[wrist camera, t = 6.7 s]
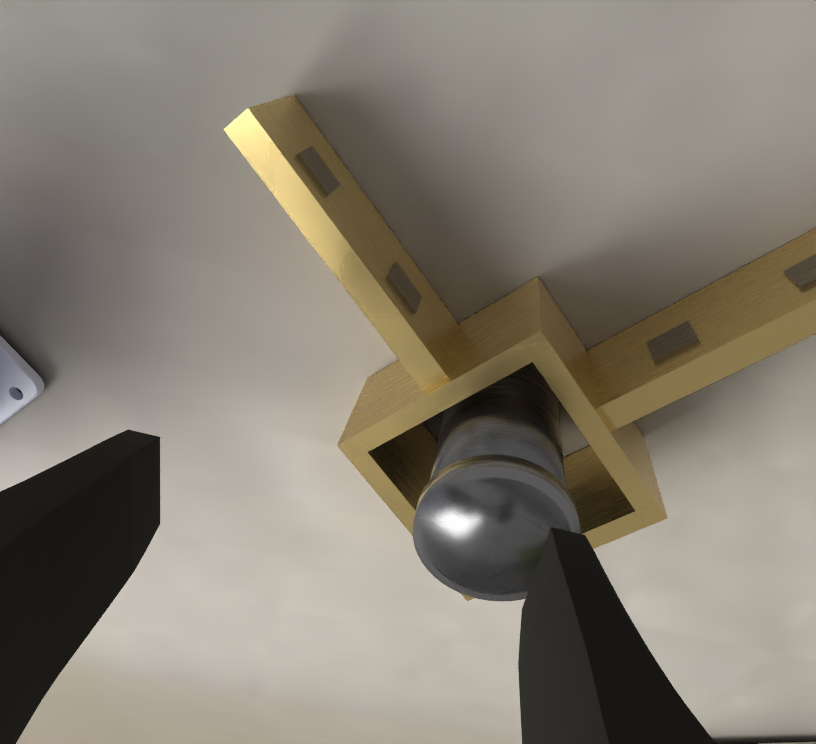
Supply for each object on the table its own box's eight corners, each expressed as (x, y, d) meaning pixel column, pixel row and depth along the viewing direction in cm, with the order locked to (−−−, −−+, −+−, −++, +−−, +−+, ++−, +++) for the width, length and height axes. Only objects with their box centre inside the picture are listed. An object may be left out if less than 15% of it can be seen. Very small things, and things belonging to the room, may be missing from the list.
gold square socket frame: (475, 516, 24) (467, 600, 21) (202, 171, 20) (133, 202, 16) (915, 311, 19) (1007, 377, 15) (667, -222, 15) (713, -299, 11)
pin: (494, 463, 23) (486, 624, 17) (417, 385, 22) (379, 526, 16) (587, 399, 21) (616, 551, 15) (508, 314, 21) (504, 439, 14)
